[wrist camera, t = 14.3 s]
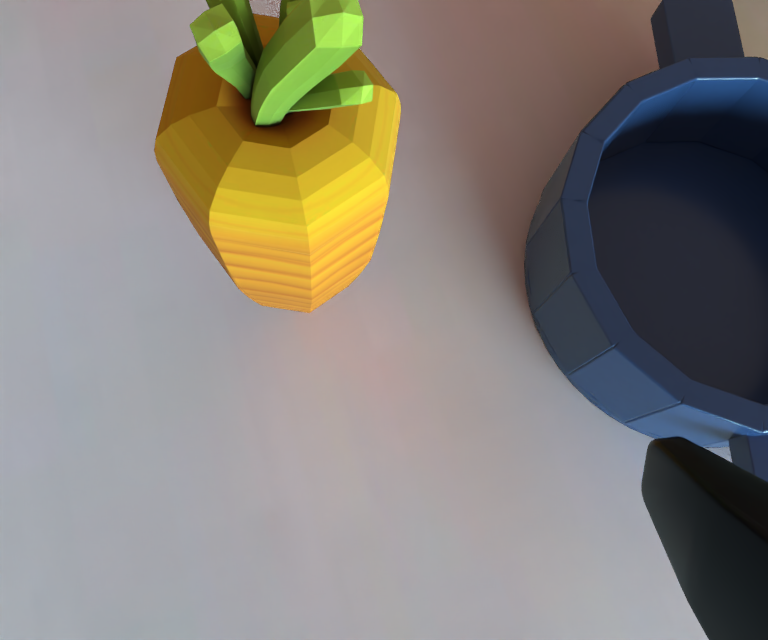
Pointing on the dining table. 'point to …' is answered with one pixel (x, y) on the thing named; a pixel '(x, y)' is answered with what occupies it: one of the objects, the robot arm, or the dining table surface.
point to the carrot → (281, 146)
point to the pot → (666, 243)
